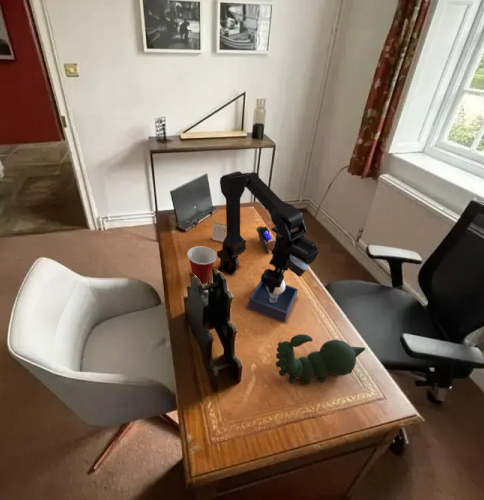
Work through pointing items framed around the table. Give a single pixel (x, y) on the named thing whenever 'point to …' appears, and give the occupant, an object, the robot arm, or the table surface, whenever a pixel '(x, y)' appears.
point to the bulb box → (274, 310)
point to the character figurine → (265, 238)
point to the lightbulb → (276, 293)
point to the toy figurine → (316, 359)
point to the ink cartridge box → (219, 231)
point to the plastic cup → (202, 262)
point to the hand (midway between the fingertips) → (275, 284)
